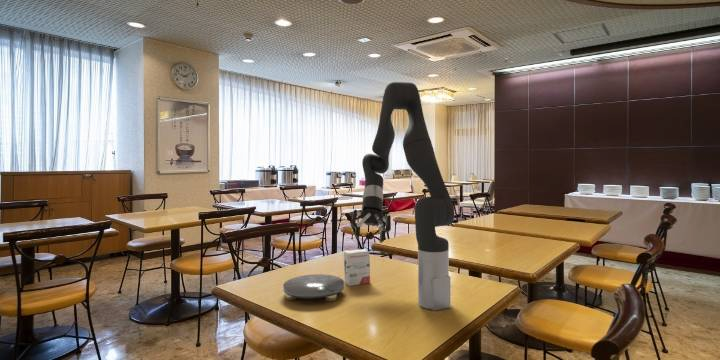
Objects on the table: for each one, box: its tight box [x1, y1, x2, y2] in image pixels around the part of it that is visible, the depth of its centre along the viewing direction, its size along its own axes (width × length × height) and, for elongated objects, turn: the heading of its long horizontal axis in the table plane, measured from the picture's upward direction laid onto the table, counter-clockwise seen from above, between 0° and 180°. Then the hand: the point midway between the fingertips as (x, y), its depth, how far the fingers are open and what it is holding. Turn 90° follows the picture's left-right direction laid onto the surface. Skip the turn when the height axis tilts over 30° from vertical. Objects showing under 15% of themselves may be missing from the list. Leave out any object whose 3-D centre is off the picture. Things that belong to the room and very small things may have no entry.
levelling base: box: [282, 273, 345, 303], centre depth 127 cm, size 20×20×5 cm
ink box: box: [343, 248, 371, 287], centre depth 139 cm, size 9×5×12 cm, turn 111°
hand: (369, 240), depth 134 cm, fingers open, 8 cm apart
